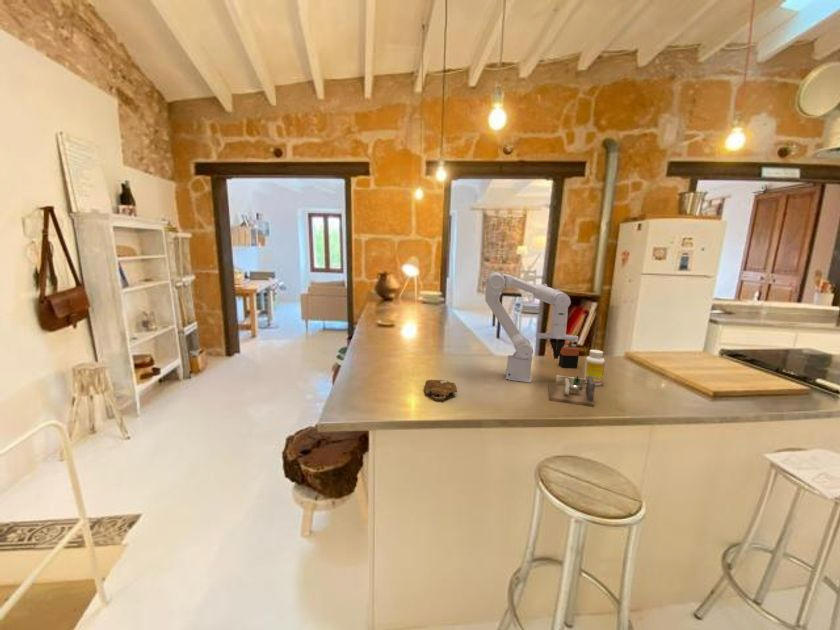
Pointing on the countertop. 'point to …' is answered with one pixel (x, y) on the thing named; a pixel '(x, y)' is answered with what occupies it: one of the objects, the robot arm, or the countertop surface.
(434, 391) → the decorative rock
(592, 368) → the supplement bottle
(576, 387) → the silver cylinder with block
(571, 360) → the battery
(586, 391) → the base
